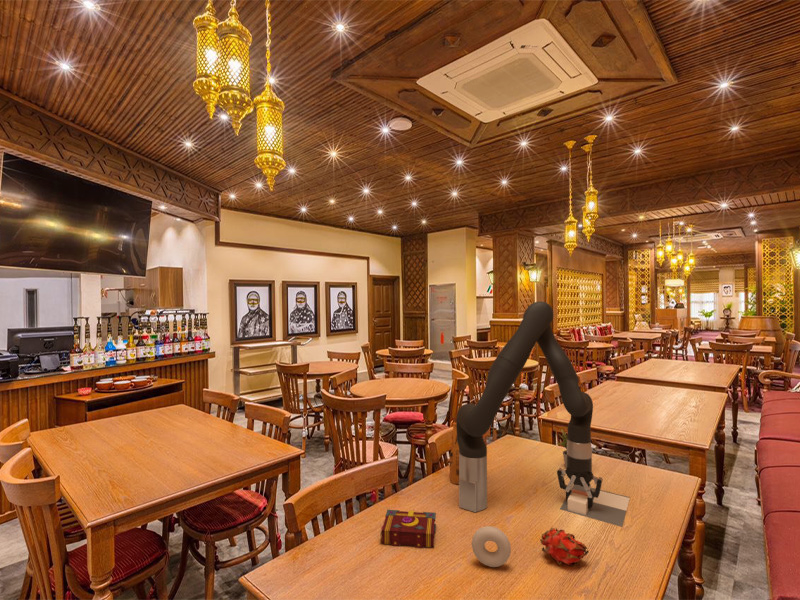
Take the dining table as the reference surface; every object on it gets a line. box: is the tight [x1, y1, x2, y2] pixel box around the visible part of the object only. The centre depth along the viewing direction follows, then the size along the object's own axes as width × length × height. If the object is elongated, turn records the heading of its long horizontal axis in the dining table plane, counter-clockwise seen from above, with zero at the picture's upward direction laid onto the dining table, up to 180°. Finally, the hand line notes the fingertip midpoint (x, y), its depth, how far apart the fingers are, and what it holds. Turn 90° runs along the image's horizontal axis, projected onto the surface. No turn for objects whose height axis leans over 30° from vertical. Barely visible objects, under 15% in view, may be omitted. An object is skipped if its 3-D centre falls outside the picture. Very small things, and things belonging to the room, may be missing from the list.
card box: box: [568, 489, 588, 515], centre depth 132 cm, size 8×6×4 cm
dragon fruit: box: [539, 527, 589, 567], centre depth 106 cm, size 8×8×12 cm
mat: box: [559, 484, 631, 528], centre depth 135 cm, size 22×18×1 cm
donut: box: [471, 525, 512, 568], centre depth 105 cm, size 10×4×10 cm, turn 75°
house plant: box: [555, 428, 568, 470], centre depth 162 cm, size 14×14×16 cm
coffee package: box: [449, 421, 459, 485], centre depth 154 cm, size 10×12×22 cm
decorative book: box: [380, 509, 437, 549], centre depth 118 cm, size 11×16×5 cm
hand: (579, 504), depth 132 cm, fingers closed on card box, 5 cm apart
